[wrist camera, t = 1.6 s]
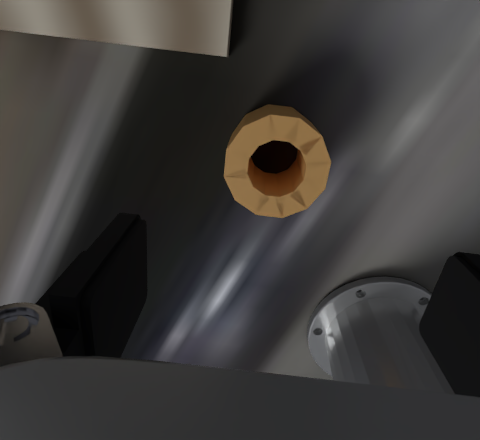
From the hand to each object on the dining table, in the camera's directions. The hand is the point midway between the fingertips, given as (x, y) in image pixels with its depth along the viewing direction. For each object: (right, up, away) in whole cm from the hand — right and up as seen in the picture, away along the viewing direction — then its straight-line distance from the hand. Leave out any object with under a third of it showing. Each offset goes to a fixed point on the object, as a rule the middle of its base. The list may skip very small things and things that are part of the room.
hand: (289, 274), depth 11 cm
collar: (+1, +7, +15) cm, 17 cm away
